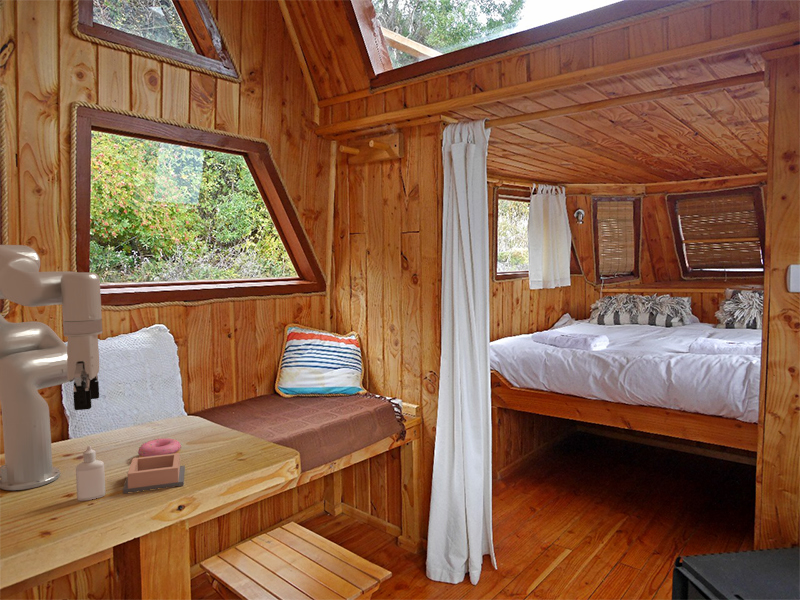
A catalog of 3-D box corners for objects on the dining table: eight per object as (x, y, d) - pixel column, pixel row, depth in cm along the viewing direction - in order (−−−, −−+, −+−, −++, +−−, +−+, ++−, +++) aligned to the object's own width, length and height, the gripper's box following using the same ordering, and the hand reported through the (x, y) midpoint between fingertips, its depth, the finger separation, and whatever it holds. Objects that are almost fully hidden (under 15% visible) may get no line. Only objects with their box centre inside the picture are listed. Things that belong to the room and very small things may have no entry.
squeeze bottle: (98, 501, 125) (95, 448, 124) (73, 501, 125) (70, 449, 124) (109, 493, 129) (106, 442, 128) (84, 493, 129) (82, 442, 128)
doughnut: (150, 450, 158) (149, 435, 158) (188, 450, 158) (187, 435, 158) (130, 464, 148) (129, 448, 147) (171, 464, 147) (170, 449, 147)
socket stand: (122, 493, 129) (122, 474, 128) (128, 476, 139) (128, 458, 139) (183, 485, 133) (182, 467, 133) (184, 469, 143) (184, 452, 143)
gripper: (72, 324, 131) (76, 396, 132) (54, 333, 114) (58, 415, 116) (108, 323, 133) (111, 393, 135) (95, 331, 117) (99, 412, 118)
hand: (87, 403), depth 125 cm, fingers open, 9 cm apart
